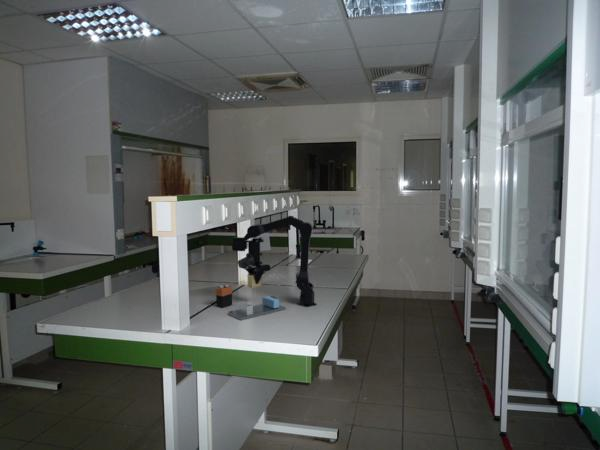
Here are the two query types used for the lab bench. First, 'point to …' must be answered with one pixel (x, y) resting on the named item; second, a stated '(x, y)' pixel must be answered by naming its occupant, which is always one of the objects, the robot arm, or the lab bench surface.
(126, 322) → the lab bench surface
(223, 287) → the battery
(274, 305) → the block
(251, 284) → the brass block
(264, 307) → the vise
